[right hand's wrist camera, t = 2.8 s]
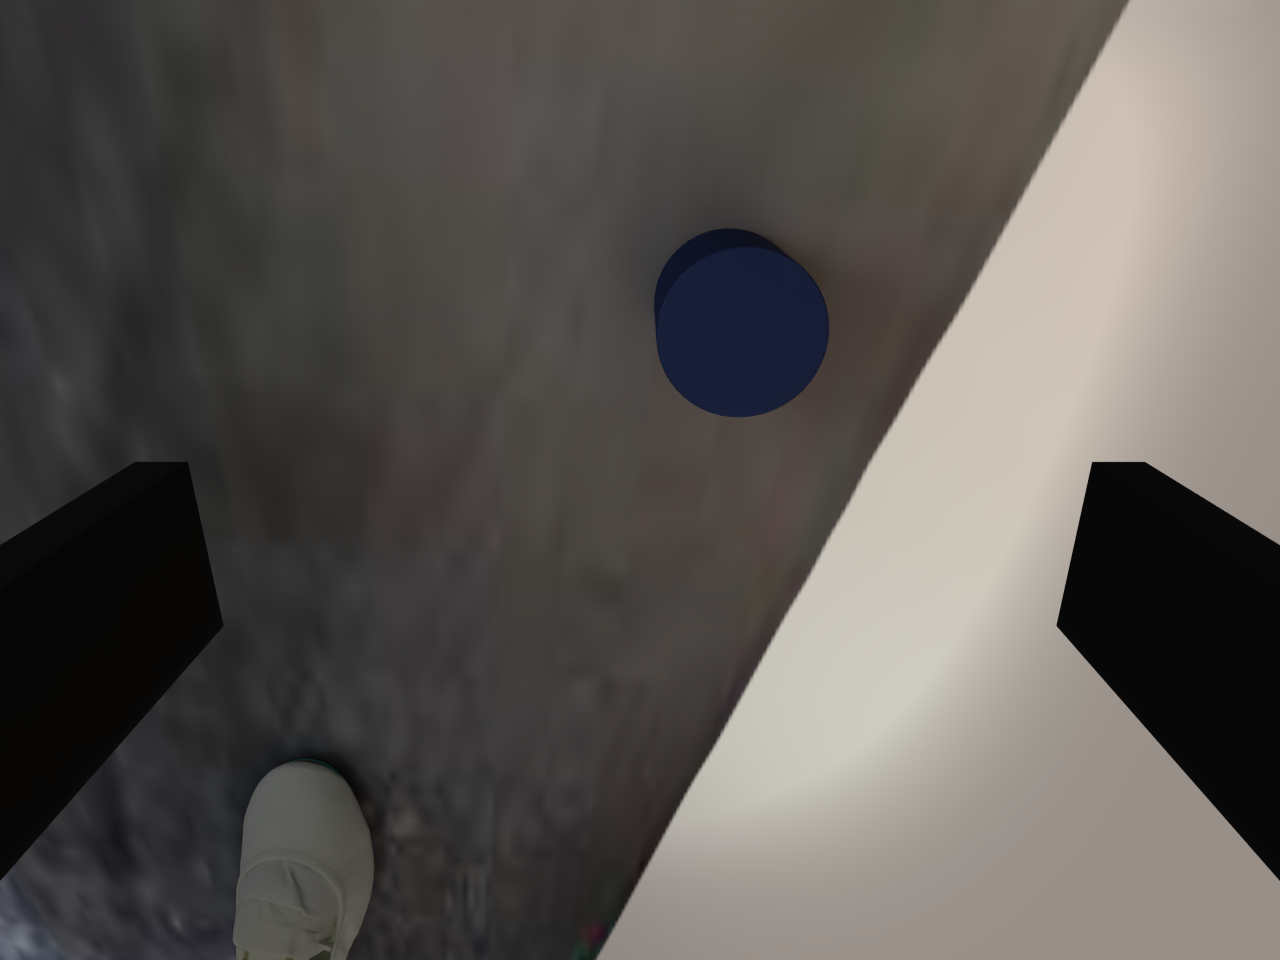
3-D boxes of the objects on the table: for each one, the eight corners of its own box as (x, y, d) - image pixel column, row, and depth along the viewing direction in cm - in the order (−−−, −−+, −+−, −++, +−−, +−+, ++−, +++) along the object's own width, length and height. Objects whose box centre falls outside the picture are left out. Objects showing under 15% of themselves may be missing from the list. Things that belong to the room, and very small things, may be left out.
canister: (630, 268, 40) (627, 293, 33) (766, 202, 39) (792, 215, 32) (689, 395, 42) (698, 443, 36) (819, 337, 41) (853, 375, 35)
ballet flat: (396, 763, 51) (355, 866, 44) (356, 1020, 60) (317, 1140, 53) (260, 738, 51) (195, 838, 43) (240, 1001, 60) (184, 1121, 52)
